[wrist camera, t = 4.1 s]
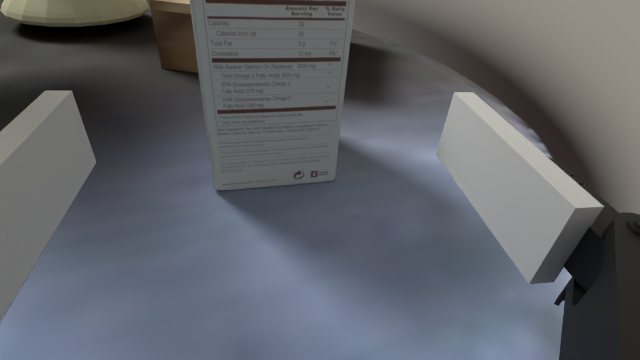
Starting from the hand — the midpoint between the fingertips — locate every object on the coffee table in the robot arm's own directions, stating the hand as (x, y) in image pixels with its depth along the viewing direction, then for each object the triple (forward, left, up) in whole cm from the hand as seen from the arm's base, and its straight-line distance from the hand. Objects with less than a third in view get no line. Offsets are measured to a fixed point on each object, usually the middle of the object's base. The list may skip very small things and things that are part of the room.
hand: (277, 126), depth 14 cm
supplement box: (-3, +8, -7) cm, 11 cm away
